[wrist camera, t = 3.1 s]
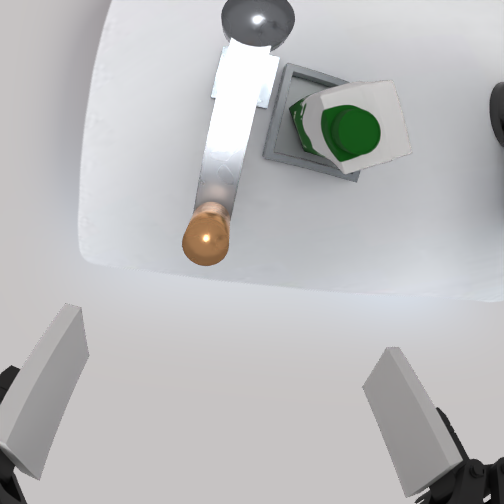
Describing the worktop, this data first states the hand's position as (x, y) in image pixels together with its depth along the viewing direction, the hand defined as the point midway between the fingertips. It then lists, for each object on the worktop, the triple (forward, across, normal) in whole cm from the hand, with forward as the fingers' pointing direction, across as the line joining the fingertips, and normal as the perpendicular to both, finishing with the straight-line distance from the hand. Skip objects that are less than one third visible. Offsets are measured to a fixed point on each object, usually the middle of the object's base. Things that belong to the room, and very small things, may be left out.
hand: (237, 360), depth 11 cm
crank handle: (+11, -2, +10) cm, 15 cm away
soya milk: (+35, +10, +12) cm, 38 cm away
